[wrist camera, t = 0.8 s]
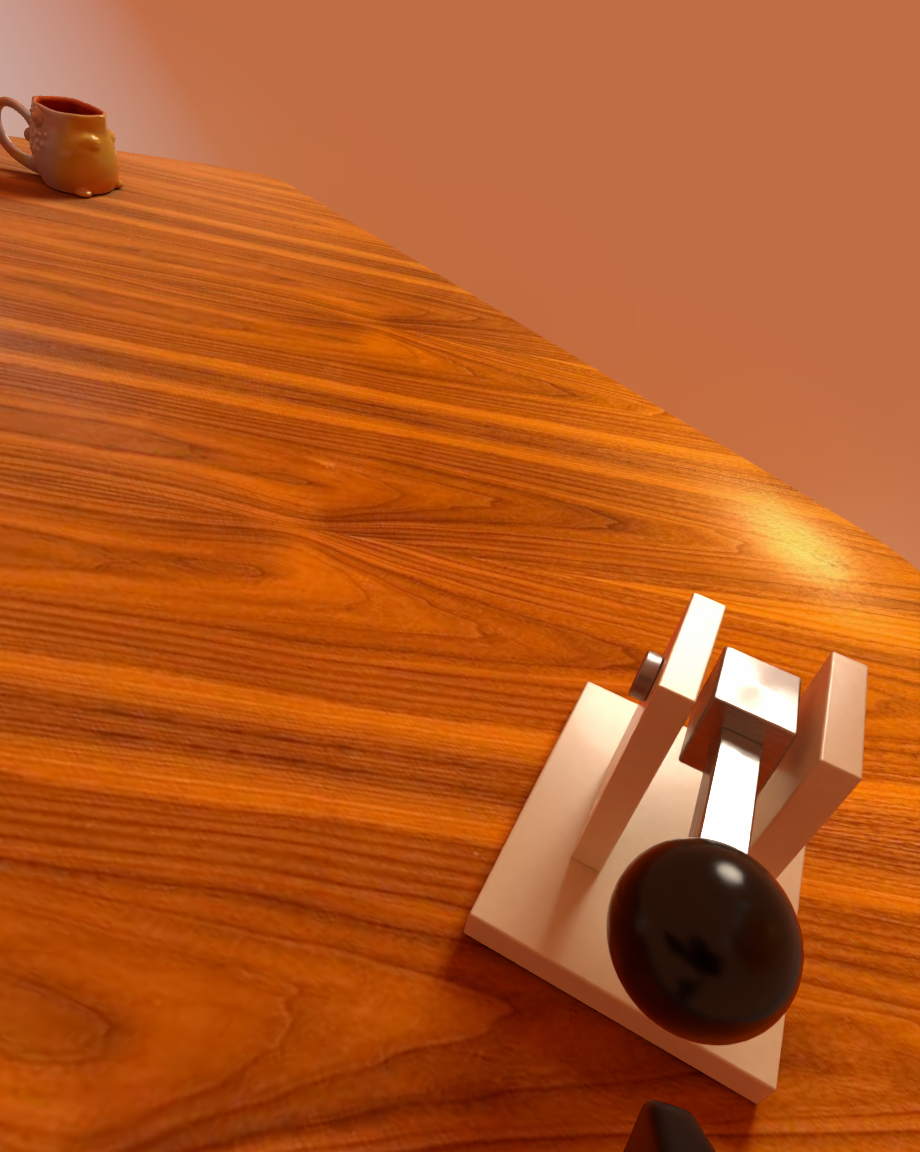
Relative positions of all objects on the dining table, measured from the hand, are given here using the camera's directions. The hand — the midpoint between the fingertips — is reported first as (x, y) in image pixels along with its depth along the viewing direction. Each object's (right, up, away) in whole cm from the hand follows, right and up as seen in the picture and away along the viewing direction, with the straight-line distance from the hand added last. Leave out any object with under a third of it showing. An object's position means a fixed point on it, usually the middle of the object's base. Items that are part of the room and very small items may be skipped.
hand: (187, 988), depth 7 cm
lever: (+8, -3, +11) cm, 14 cm away
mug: (-35, +41, +63) cm, 83 cm away
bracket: (+9, -6, +18) cm, 21 cm away
